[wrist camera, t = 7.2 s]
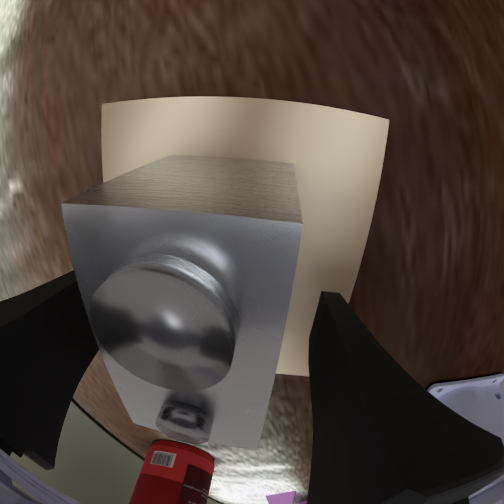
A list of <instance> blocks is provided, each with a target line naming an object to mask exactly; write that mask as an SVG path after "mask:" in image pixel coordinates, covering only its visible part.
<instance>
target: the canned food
mask: <svg viewBox="0 0 504 504" xmlns="http://www.w3.org/2000/svg"><path fill="white" fill-rule="evenodd" d="M213 471H214V460H213V458H212V457H211V456H210V455H209V454H208V453H206V452H204V451H203V450H200V449H198V448H196V447H193V446H190V445H187V444H184V443H180V442H175V441H169V440H159V441H155V442H154V443H153V444H152V445H151V446H150V448H149V450H148V453H147V456H146V458H145V461H144V464H143V467H142V469H141V472H140V475H139V478H138V480H137V483H136V486H135V489H134V492H133V494H132V497H131V500H130V503H129V504H206V503H207V498H208V494H209V489H210V485H211V480H212V475H213Z"/></svg>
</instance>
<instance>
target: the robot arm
mask: <svg viewBox="0 0 504 504" xmlns="http://www.w3.org/2000/svg"><path fill="white" fill-rule="evenodd" d="M98 350H99V347H98V344H97V342H96V339H95V336H94V333H93V331H92V328H91V325H90V322H89V319H88V316H87V313H86V310H85V307H84V303H83V300H82V297H81V293H80V290H79V286H78V282H77V279H76V275H75V271H74V270H73V271H71V272H69V273H67V274H65V275H63V276H60V277H58V278H56V279H54V280H52V281H50V282H47V283H45V284H43V285H41V286H38V287H36V288H34V289H32V290H30V291H27V292H25V293H22V294H20V295H17V296H15V297H12V298H9V299H6V300H4V301H1V302H0V504H42V503H41V502H39V501H38V500H36V499H34V498H33V497H31V496H29V495H28V494H26V493H25V492H23V491H21V490H20V489H18V488H17V487H15V486H14V485H13V484H12V480H13V481H15V482H16V483H17V484H18V485H20V486H21V487H22V488H24V489H25V490H26V491H28V492H29V493H30V494H32V495H33V496H35V497H36V498H37V499H39V500H40V501H42V502H43V503H45V504H81V503H79V502H77V501H75V500H73V499H72V498H70V497H68V496H66V495H65V494H63V493H61V492H59V491H58V490H56V489H55V488H53V487H51V486H50V485H48V484H47V483H45V482H44V481H42V480H41V479H39V478H38V477H36V476H35V475H33V474H32V473H31V472H29V471H28V470H27V469H25V468H24V467H23V466H21V465H20V464H18V463H17V462H16V461H15V460H14V459H12V458H11V457H10V454H11V452H14V453H15V454H16V455H18V456H19V457H22V455H23V454H24V455H25V456H27V457H28V458H29V459H31V460H32V461H34V462H35V463H37V464H38V465H40V466H41V467H43V468H44V469H46V470H50V469H53V468H54V465H55V458H56V452H57V447H58V441H59V437H60V433H61V430H62V426H63V423H64V419H65V417H66V413H67V411H68V408H69V405H70V402H71V400H72V398H73V395H74V393H75V391H76V388H77V386H78V384H79V382H80V380H81V378H82V376H83V374H84V373H85V371H86V369H87V368H88V366H89V365H90V363H91V361H92V360H93V358H94V357H95V355H96V354H97V352H98ZM308 367H309V378H310V389H311V400H312V413H313V449H312V463H311V473H310V483H309V491H308V498H307V504H504V391H503V389H502V387H501V385H500V383H501V382H502V380H503V379H504V375H503V374H497V375H492V376H487V377H481V378H475V379H468V380H461V381H454V382H445V383H436V384H433V385H431V386H430V387H429V389H428V390H426V389H424V388H423V387H422V386H421V385H420V384H419V383H418V382H416V381H415V380H414V379H413V378H412V377H411V376H410V375H409V374H408V373H407V372H406V371H405V370H404V369H403V368H402V367H401V366H400V365H399V364H398V363H397V362H396V361H395V360H394V359H393V358H392V357H391V356H390V355H389V354H388V352H387V351H386V350H385V349H384V348H383V347H382V346H381V345H380V343H379V342H378V341H377V340H376V339H375V338H374V336H373V335H372V334H371V333H370V331H369V330H368V329H367V328H366V326H365V325H364V324H363V323H362V321H361V320H360V319H359V317H358V316H357V315H356V313H355V312H354V311H353V310H352V308H351V307H350V306H349V304H348V303H347V302H346V300H345V299H344V298H343V296H342V295H341V294H340V293H336V292H326V291H321V294H320V298H319V302H318V306H317V310H316V314H315V317H314V321H313V325H312V328H311V332H310V336H309V352H308Z"/></svg>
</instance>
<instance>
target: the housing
mask: <svg viewBox="0 0 504 504" xmlns="http://www.w3.org/2000/svg"><path fill="white" fill-rule="evenodd" d="M61 204H62V211H63V217H64V223H65V229H66V235H67V240H68V245H69V249H70V254H71V258H72V263H73V267H74V271H75V275H76V279H77V282H78V286H79V290H80V293H81V297H82V300H83V303H84V307H85V310H86V313H87V316H88V319H89V322H90V325H91V328H92V331H93V333H94V336H95V339H96V342H97V344H98V347H99V350H100V352H101V355H102V357H103V360H104V362H105V364H106V367H107V369H108V372H109V374H110V376H111V378H112V381H113V383H114V385H115V387H116V389H117V391H118V394H119V396H120V398H121V400H122V402H123V404H124V406H125V408H126V410H127V412H128V414H129V415H130V417H131V419H132V421H133V423H135V424H138V425H142V426H145V427H148V428H151V429H155V430H158V431H161V432H163V433H164V434H166V435H167V436H169V437H171V438H174V439H176V440H179V441H182V442H186V443H192V444H202V443H206V442H209V443H214V444H220V445H226V446H232V447H239V448H246V449H255V450H257V449H258V446H259V442H260V438H261V434H262V430H263V426H264V422H265V417H266V413H267V409H268V405H269V401H270V396H271V392H272V387H273V383H274V378H275V374H276V369H277V365H278V360H279V355H280V350H281V346H282V341H283V336H284V331H285V325H286V320H287V315H288V310H289V304H290V299H291V294H292V288H293V282H294V277H295V271H296V265H297V259H298V253H299V247H300V240H301V234H302V227H303V220H302V213H301V207H300V200H299V194H298V188H297V182H296V176H295V170H294V164H293V163H284V162H275V161H265V160H255V159H243V158H229V157H212V156H188V155H170V156H167V157H164V158H162V159H159V160H156V161H154V162H151V163H149V164H146V165H144V166H141V167H139V168H136V169H134V170H131V171H129V172H127V173H124V174H122V175H120V176H117V177H115V178H113V179H111V180H108V181H106V182H104V183H102V184H100V185H98V186H95V187H93V188H91V189H89V190H87V191H85V192H83V193H81V194H79V195H77V196H75V197H73V198H71V199H69V200H67V201H65V202H63V203H61Z"/></svg>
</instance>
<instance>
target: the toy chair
mask: <svg viewBox="0 0 504 504" xmlns="http://www.w3.org/2000/svg"><path fill="white" fill-rule="evenodd" d="M295 494H296V491H292V492H287V493H281V494H275V495H269V496H266V498H267V500H268V502H269V504H294V498H295ZM298 503H299V504H307V501H302V502H298Z"/></svg>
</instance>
